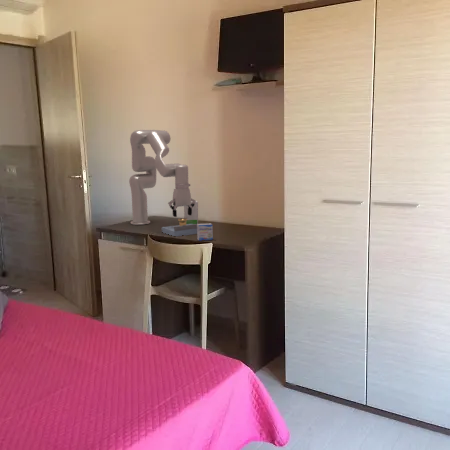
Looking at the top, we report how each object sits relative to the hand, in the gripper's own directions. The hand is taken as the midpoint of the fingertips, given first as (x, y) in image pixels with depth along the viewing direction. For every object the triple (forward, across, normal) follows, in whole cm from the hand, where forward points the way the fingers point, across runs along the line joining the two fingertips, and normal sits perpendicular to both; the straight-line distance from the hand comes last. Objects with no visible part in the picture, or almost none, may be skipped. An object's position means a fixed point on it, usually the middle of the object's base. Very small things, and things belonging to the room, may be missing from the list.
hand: (182, 215), depth 300 cm
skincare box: (+10, -14, -15) cm, 23 cm away
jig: (+10, 0, +1) cm, 10 cm away
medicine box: (+9, 0, +26) cm, 27 cm away
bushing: (+10, 0, +1) cm, 10 cm away
